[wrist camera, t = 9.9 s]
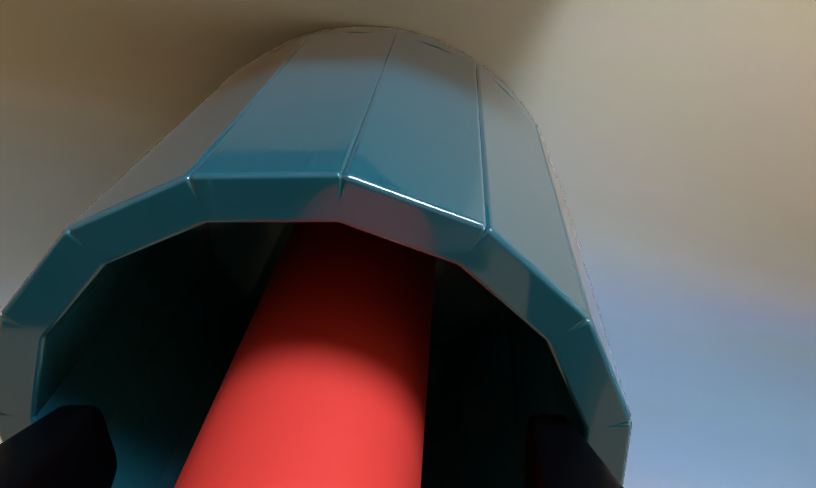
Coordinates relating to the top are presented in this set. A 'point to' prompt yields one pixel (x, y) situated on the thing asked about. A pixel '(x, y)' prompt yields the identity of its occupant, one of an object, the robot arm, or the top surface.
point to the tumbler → (325, 202)
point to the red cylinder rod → (326, 371)
